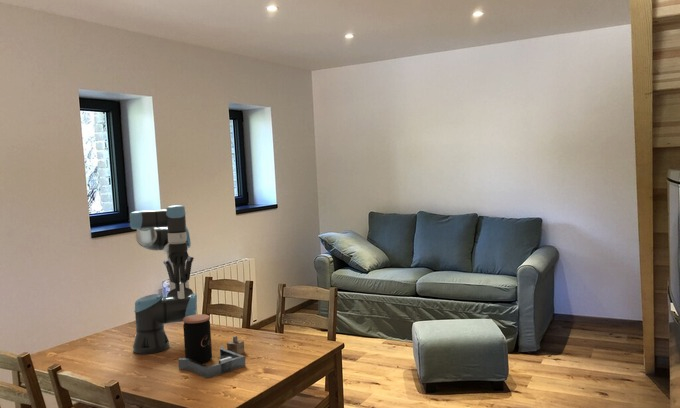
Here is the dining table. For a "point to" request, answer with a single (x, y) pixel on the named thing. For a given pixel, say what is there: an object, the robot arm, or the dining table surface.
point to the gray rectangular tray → (225, 364)
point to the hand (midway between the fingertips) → (181, 298)
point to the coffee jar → (197, 338)
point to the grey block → (236, 346)
